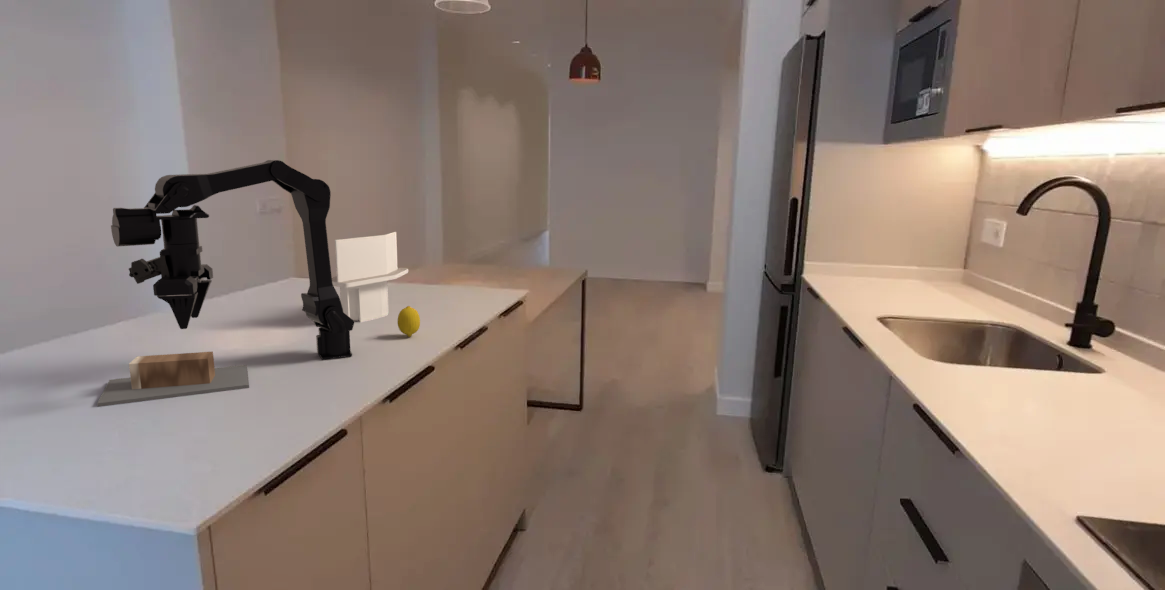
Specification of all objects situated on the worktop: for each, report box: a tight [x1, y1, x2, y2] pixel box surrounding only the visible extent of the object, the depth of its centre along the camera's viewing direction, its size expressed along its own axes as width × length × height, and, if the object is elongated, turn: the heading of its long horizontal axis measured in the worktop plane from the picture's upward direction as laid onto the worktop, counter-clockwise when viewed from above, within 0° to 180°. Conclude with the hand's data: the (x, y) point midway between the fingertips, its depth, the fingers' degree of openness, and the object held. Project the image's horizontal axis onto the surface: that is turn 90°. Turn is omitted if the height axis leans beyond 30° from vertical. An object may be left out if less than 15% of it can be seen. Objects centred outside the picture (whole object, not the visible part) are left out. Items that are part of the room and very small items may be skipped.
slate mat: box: [96, 364, 250, 407], centre depth 127 cm, size 24×14×1 cm, turn 118°
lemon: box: [397, 305, 421, 338], centre depth 164 cm, size 6×6×8 cm
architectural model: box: [332, 231, 409, 323], centre depth 183 cm, size 28×21×23 cm
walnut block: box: [128, 351, 216, 389], centre depth 126 cm, size 5×5×13 cm
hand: (189, 323), depth 125 cm, fingers open, 9 cm apart
